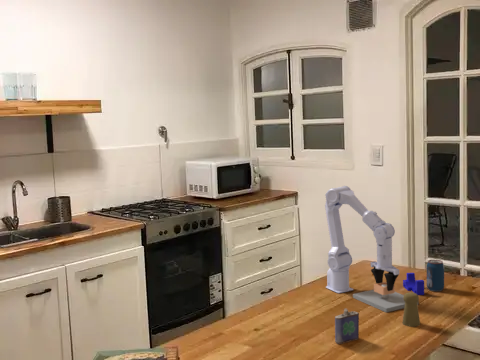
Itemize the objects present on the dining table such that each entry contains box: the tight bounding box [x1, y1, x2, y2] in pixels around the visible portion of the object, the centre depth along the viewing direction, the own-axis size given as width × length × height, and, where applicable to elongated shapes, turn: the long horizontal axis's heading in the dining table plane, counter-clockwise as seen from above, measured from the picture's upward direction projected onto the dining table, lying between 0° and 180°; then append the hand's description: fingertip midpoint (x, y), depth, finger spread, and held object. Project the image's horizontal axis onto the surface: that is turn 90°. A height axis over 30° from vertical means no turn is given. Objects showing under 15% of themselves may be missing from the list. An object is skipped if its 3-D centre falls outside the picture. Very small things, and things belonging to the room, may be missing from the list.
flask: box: [334, 308, 360, 345], centre depth 184 cm, size 9×3×11 cm, turn 117°
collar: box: [373, 281, 396, 295], centre depth 220 cm, size 6×6×3 cm
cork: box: [402, 291, 421, 328], centre depth 196 cm, size 6×6×11 cm
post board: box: [352, 284, 419, 313], centre depth 220 cm, size 20×16×6 cm
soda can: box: [426, 259, 445, 292], centre depth 231 cm, size 7×7×12 cm
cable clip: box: [402, 272, 425, 296], centre depth 232 cm, size 12×4×6 cm, turn 3°
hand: (384, 288), depth 220 cm, fingers closed on collar, 6 cm apart
